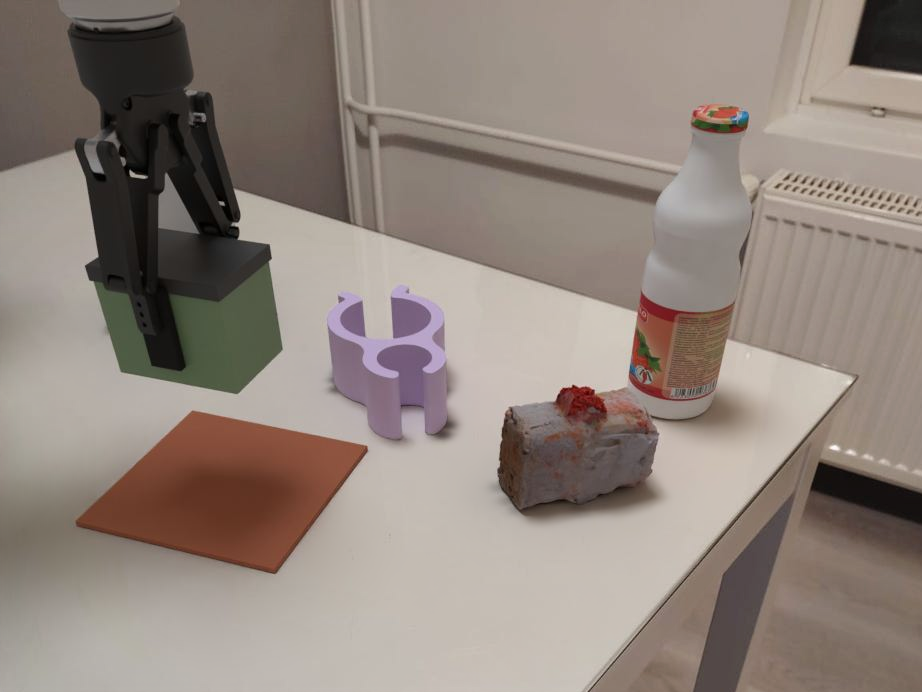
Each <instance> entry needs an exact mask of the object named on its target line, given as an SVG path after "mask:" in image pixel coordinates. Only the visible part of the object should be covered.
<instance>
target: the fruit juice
mask: <svg viewBox="0 0 922 692" xmlns="http://www.w3.org/2000/svg"><path fill="white" fill-rule="evenodd" d="M749 116H750V115H749V112H748V111H746V110H745V109H743V108H740V107H738V106H734V105H729V104H718V103H717V104H716V103H715V104H714V103H713V104H712V103H711V104H704V105H699V106H696V107H695V108H694V109H693V112H692V114H691V118H690V127H689V130H690V133H691V134H692V135H691V140H690V141H691V142H690V146H689V148H688V152H687V155H686V157H685V159H684V161H683V163H682V166H681V167H680V169H679V171H678V173H677V175H676V176H675V178H674V179H673V180H672V181H671V182H670V183H669V184H668V185H667V186H666V187H665V188H664V189H663V190H662V192H661V193H660V195H659V196H658V198H657V200H656V202H655V204H654V209H653V214H652V231H653V246H652V248H651V250H650V252H649V253H648V255H647V258H646V261H645V263H644V269H643V273H642V278H641V285H640V293H639V300H638V305H637V306H638V307H637V314H636V320H635V328H634V333H633V334H634V335H633V341H632V348H631V355H630V362H629V369H628V375H627V382H626V383H627V384H626V387H627V388H628V389H629V390H630V391H631V392H633V394H635V395H637V398H638V399H639V400H640V402H641V403H642V404H643V406H644V407H645V408H646V409H647V411H648V413H649V414H650V416H651V417H655V418H659V419H665V420H686V419H691V418H696V417H698V416H700V415H702V414H703V413H705V412H706V411H707V410H708V409H709V408H710V406H711V405H712V403H713V400H714V397H715V394H716V389H717V385H718V380H719V376H720V371H721V367H722V363H723V358H724V353H725V350H726V344H727V339H728V335H729V331H730V328H731V327H730V326H731V322H732V317H733V314H734V309H735V305H736V300H737V296H738V293H739V285H740V281H741V271H742V269H741V262H740V252H741V249H742V248H743V245H744V243H745V242H746V239H747V237H748V234H749V232H750V229H751V226H752V225H751V224H752V218H753V208H752V202H751V199H750V197H749V195H748V193H747V191H746V189H745V187H744V184H743V181H742V177H741V167H740V149H741V148H740V147H741V141H742V139H743V138H744V137H745V135H746V134H747V129H748V127H749V119H750V117H749Z"/></svg>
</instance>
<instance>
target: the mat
mask: <svg viewBox="0 0 922 692" xmlns="http://www.w3.org/2000/svg"><path fill="white" fill-rule="evenodd" d="M368 447H369V446H368V445H366V444H361V443H356V442H351V441H347V440H341V439H336V438H332V437H326V436H321V435H317V434H316V435H315V434H312V433H306V432H303V431H297V430H292V429H287V428H281V427H277V426H271V425H267V424H262V423H257V422H252V421H247V420H242V419H237V418H233V417H227V416H223V415H218V414H212V413H208V412H202V411H199V410H191V411H189V413H188V414H187V415H186V416H185V417H184V418H183V419H181V421H179V423H177V424H176V425H175V426H174V427H173V428H172V429H171V430H170V431H169V432H168V433H167V434H166V435H164V437H162V439H160V440H159V441H158V442H157V443H156V444H155V445H154V446H153V447H152V448H151V449H150V450H148V452H146V454H144V455H143V456H142V457H141V458H140V459H139V460H138V461H137V462H136V463H135V464H134V465H133V466H132V467H131V468H130V469H129V470H128V471H127V472H126V473H124V475H122V476H121V477H120V478H119V479H118V480H117V481H116V482H115V483H114V484H112V486H110V488H109V489H108V490H107V491H106V492H104V493H103V495H101V496H100V497H99V498H98V499H97V500H96V501H95V502H94V503H93V504H92V505H91V506H89V508H87V510H86V511H84V512H83V513H82V514H81V515H80V516H79V517H78V518H77V519H76V520H75V521H74V522H75V524H76V526H78V527H82V528H85V529H90V530H93V531H99V532H102V533H107V534H111V535H114V536H119V537H123V538H127V539H132V540H136V541H140V542H144V543H147V544H153V545H156V546H161V547H165V548H169V549H173V550H178V551H182V552H185V553H189V554H193V555H198V556H202V557H206V558H211V559H215V560H218V561H223V562H227V563H232V564H235V565H240V566H243V567H248V568H251V569H256V570H259V571H264V572H268V573H273V574H276V573H277V571H278V570H279V569H280V567H282V565H283V564H284V562H285V561H286V560H287V559H288V557H289V556H290V554H291V553H292V552H293V550H294V549H295V547H296V546H297V545H298V544H299V542H300V541H301V539H303V537H304V536H305V534H306V533H307V532H308V530H309V529H310V528H311V526H312V525H313V523H314V522H315V521H316V520H317V519H318V517H319V515H320V514H321V513H322V511H323V510H324V509H325V508H326V507H327V505H328V504H329V502H330V501H331V499H332V498H333V497H334V495H336V493H337V491H338V490H339V489H340V488H341V486H342V485H343V484H344V482H345V481H346V479H347V478H348V477H349V475H350V474H351V473H352V472H353V470H354V469H355V467H356V466H357V465H358V463H359V462H360V461H361V460H362V458H363V457H364V455H365V454H366V453H367V452H368V449H369V448H368Z"/></svg>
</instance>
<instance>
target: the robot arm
mask: <svg viewBox="0 0 922 692" xmlns="http://www.w3.org/2000/svg"><path fill="white" fill-rule="evenodd" d="M57 1H58V6H59V10H60V11H61V12H62V13H63V14H64V16H66V17H67V18H69V19H72V22H71V23H70V24H69V25H68V26H69V27H68V29H67V31H66V32H67V37H68V40H69V44H70V47H71V51H72V55H73V59H74V63H75V66H76V70H77V74H78V77H79V81H80V83H81V85H82V86H83V88H84V89H85V90H86V91H88V92H90V94H91V95H92V96H94V98H95V99H96V101H97V102H98V105H99V113H100V118H99V119H100V121H99V126H100V131H99V132H98V133H97V134H96V135H93V137H92V138H85V137H77V138H76V139H75V141H74V151H75V154H76V157H77V159H78V162H79V165H80V167H81V169H82V172H83V175H84V177H85V182H86V188H87V195H88V202H89V206H90V207H89V208H90V213H91V219H92V227H93V232H94V238H95V244H96V251H97V257H99V263H100V269H101V275H102V282H103V286H104V288H105V289H106V290H107V291H112V292H118V293H124V294H128V295H129V298H130V301H131V305H132V308H133V312H134V315H135V319H136V323H137V326H138V329H139V330H140V332H141V333H143V337H144V340H145V344H146V348H147V351H148V355H149V358H150V362H151V366H154V367H160V368H165V369H170V370H176V371H182V370H183V369H184V368H186V365H185V361H184V357H183V353H182V349H181V345H180V341H179V337H178V332H177V328H176V324H175V320H174V316H173V312H172V308H171V304H170V300H169V296H168V292H167V288H165V287H159V286H158V207H159V195H160V194H161V193H162V192H163V191H164V188H165V174H166V173H167V174H168V176H169V178H170V180H171V182H172V184H173V185H174V187H175V189H176V191H177V193H178V195H179V197H180V198H181V200H182V202H183V204H184V206H185V208H186V210H187V211H188V213H189V215H190V217H191V219H192V221H193V223H194V225H195V226H196V228H197V230H198V232H199V234H203V235H210V236H217V237H224V238H230V239H238V240H239V239H240V228H239V226H237V225H235V226H231V225H232V223H233V222H234V223H235V224H238V223H240V220H241V217H242V215H241V210H240V205H239V203H238V199H237V196H236V192H235V189H234V185H233V181H232V179H231V175H230V170H229V167H228V165H227V161H226V157H225V154H224V150H223V147H222V142H221V143H220V141H221V139H220V140H219V138H220V136H219V133H218V130H217V126H216V118H215V117H216V115H215V107H214V100H213V96H212V94H211V93H210V92H209V91H201V90H200V91H199V90H191V89H185V88H187V87H188V86H189V85H190V84H191V83H193V80H194V77H195V73H194V66H193V62H192V56H191V51H190V46H189V40H188V34H187V30H186V25H185V23H184V22H183V21H182V20H181V18H179V17H178V16H176V15H173V14H174V13H175V12H176V11H177V10H178V9H179V7H180V6H181V1H180V0H57ZM131 172H132V173H133V174H134V175H135V176H136V175H137V176H144V178H142V177H134V176H131ZM145 176H148V177H147V178H145ZM219 201H220V202H224V204H225V205H220V203H219ZM140 271H141V272H142V275H140Z"/></svg>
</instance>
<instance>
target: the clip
mask: <svg viewBox="0 0 922 692" xmlns="http://www.w3.org/2000/svg"><path fill="white" fill-rule="evenodd" d="M337 299H338V301H337V302H338V303H337V304H336V305H334V306H333V307H332V308H331V310H330V311H329V312H328V314H327V317H326V325H327V334H328V343H329V350H330V351H329V352H330V359H331V368H332V376H333V377H332V378H333V383H334V385H335V388H336V390H337V391H338V392H339V393H340V394H341V395H343V396H344V397H346V398H347V399H350V400H352V401H355V402H357V403H359V404H362V405H364V406H365V407H366V412H367V413H366V414H367V415H366V416H367V423H368V425H369V428H370V429H371V430H372V431H373V432H374V433H376V434H377V435H380V436H381V437H384V438H386V439H390V440H395V441H397V440H401V439H402V438H403V423H402V407H401V406H409V405H410V406H418V407H421V408H423V415H424V416H423V417H424V432H425V433H427V434H428V435H436V434H438V433H439V432H440V431H442V429H443V428H444V427H445V426H446V424H447V422H448V402H447V401H448V397H447V393H448V392H447V389H448V387H447V354H446V337H445V336H446V335H445V334H446V333H445V329H446V328H445V314H444V311H443V309H442V308H441V306H440V305H438V304H437V303H436V302H435V301H433V300H431V299H429V298H427V297H424V296H421V295H418V294H413V293H410V286H409V285H406V284H399V285H397V286H395V288H394V289H392V290H391V292H390V309H391V324H392V338H371V337H367V336H366V325H365V324H366V323H365V313H364V312H365V311H364V303H363V301H364V300H363V298H362V297H361V296H360V295H358V294H356V293H352V292H349V291H347V290H345V291H344V290H343V291H340V292H338V293H337Z"/></svg>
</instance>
